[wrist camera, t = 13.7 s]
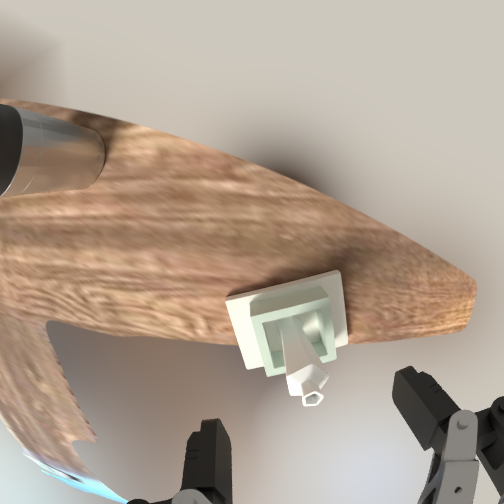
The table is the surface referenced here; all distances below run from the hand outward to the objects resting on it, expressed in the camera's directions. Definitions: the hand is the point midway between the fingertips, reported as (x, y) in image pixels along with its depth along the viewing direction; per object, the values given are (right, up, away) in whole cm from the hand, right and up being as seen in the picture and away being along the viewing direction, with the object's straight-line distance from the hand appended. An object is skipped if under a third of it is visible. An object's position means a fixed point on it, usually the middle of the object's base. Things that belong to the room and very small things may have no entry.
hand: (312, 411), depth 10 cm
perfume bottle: (+3, -3, +27) cm, 28 cm away
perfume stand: (+3, -3, +29) cm, 29 cm away
